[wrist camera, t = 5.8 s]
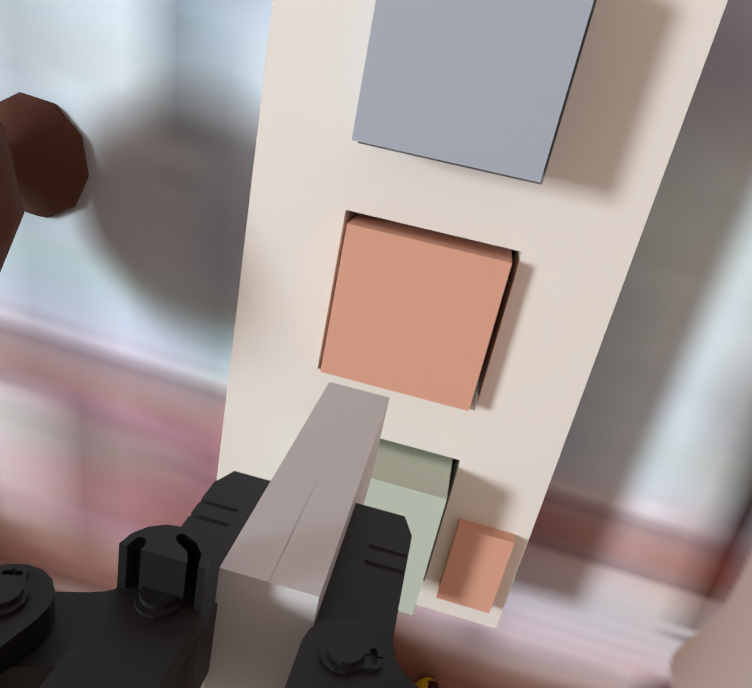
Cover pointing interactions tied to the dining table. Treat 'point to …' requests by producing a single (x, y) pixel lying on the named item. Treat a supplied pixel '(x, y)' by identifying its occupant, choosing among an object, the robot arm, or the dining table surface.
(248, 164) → the dining table surface
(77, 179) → the ice cream bowl
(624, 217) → the console
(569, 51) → the slate key
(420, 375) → the terracotta key
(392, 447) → the sage key
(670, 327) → the dining table surface
